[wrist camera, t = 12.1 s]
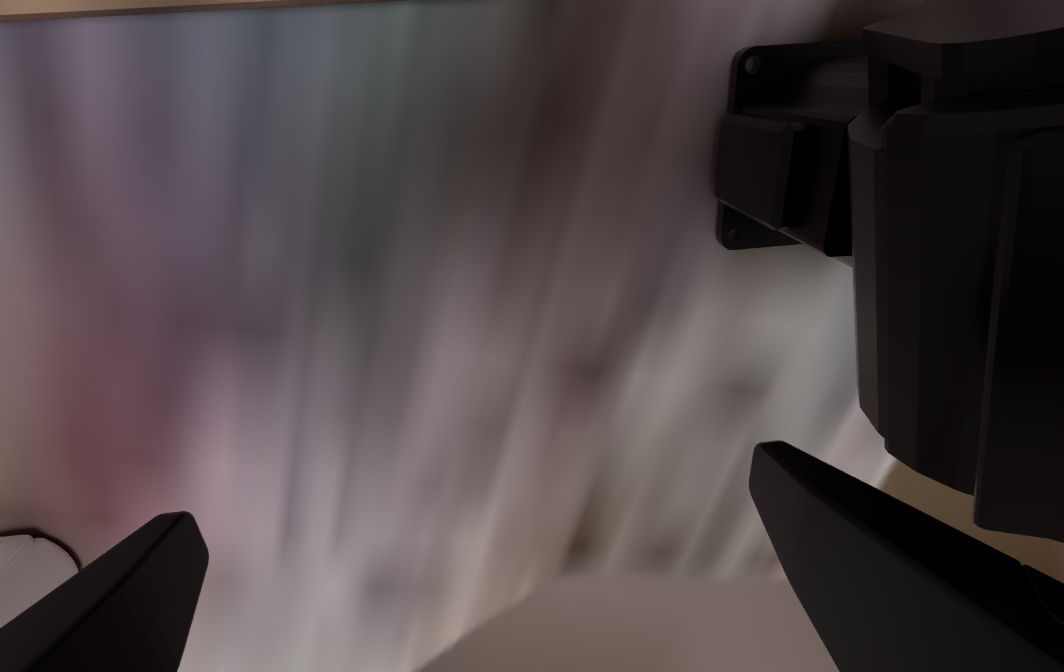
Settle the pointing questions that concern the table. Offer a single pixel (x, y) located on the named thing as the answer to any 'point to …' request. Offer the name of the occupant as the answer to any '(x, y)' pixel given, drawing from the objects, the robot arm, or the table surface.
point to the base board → (136, 7)
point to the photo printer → (29, 572)
